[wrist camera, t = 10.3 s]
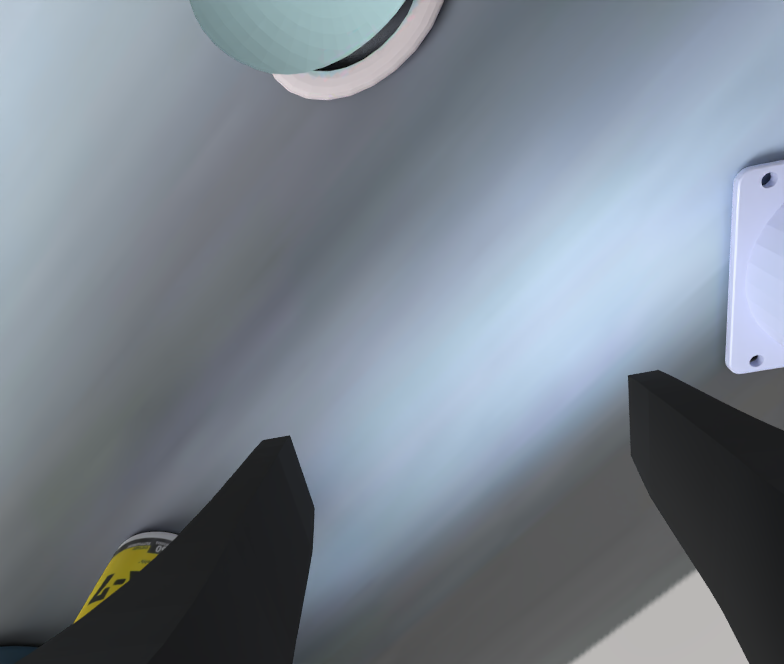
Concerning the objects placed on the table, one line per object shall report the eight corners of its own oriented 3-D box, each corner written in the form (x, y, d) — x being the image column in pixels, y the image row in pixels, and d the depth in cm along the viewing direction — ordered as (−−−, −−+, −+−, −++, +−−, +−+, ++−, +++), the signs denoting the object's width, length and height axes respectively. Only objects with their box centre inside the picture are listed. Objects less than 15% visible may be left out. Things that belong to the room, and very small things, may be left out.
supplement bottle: (213, 532, 27) (140, 715, 20) (215, 602, 29) (150, 792, 22) (110, 523, 27) (-2, 703, 20) (120, 594, 29) (21, 782, 22)
